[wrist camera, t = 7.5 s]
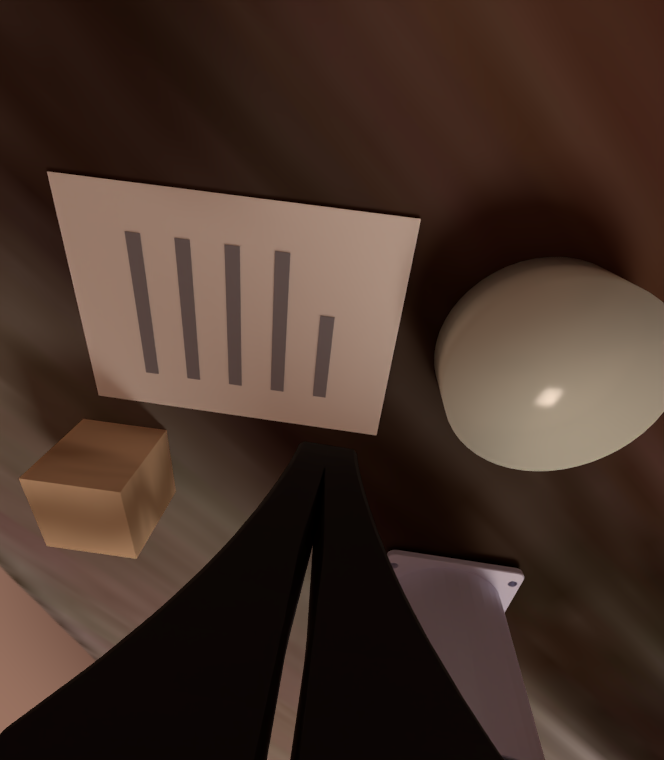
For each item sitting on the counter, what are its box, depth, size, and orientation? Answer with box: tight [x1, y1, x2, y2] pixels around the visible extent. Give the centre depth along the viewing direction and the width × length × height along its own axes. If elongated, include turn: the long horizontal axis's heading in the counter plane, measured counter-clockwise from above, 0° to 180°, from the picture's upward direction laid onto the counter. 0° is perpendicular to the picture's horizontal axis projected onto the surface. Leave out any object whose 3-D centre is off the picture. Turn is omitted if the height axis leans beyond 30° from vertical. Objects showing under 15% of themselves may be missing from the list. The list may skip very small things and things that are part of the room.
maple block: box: [19, 419, 176, 559], centre depth 20 cm, size 4×4×4 cm
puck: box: [434, 257, 664, 471], centre depth 16 cm, size 8×8×3 cm
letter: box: [47, 172, 421, 435], centre depth 17 cm, size 10×14×1 cm
